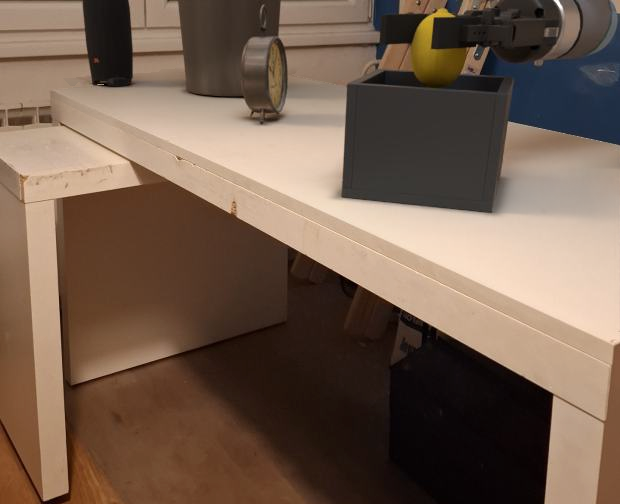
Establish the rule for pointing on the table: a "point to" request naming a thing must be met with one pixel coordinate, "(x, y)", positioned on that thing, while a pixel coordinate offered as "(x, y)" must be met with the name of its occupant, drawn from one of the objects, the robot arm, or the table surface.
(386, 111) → the bin
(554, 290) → the table surface
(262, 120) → the alarm clock
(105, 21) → the portable speaker
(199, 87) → the waste basket
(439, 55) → the lemon
